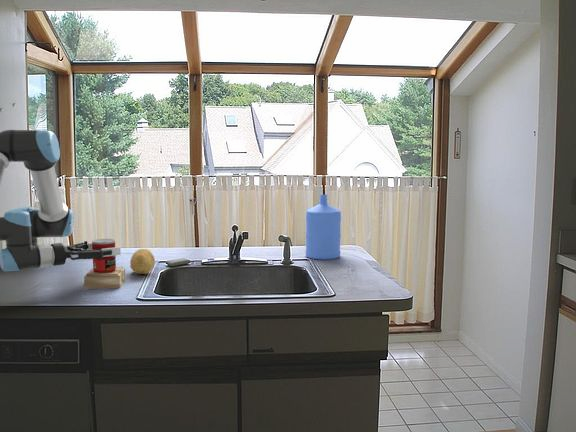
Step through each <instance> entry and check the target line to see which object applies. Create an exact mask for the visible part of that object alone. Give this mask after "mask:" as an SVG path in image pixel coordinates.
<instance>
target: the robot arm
mask: <svg viewBox="0 0 576 432" xmlns="http://www.w3.org/2000/svg"><path fill="white" fill-rule="evenodd" d="M59 143H60V142H59V140H58V137H57V135H56V134H55V133H54V132H53V131H51V130H44V129H34V130H33V129H6V130H3V131H0V185H1V184H2V181H3V179H2V178H3V176H4V172H5V169H7V168H8V167H9V164H10V163H12V162H15V163H18V162H19V163H23V165H24V167H25V168H26V169H27V170H29V171H30V174H31V178H32V183H33V185H34V189H35V193H36V196H37V201H38V204H39V208H38V209H37V208H36V207H35V206H25V207H19V208H18V207H17V208H14V209H9V210H8V211H6V212H5V213H4V215H3V216H0V241H1V242H2V241H3V242H4V241H5V246H6V247H5V248H1V249H0V268H1V270H2V271H3V272H15V271H17V272H19V271H24V270H32V269H39V268H41V269H42V270H43V269H44V270H45V267H46V268H47V267H52V266H54V267H56V266H62V265H65V264H66V262H67V259H70V260H72V261H76V260H77V261H78V260H93V259H100V260H102V259H103V257H107V256H115V255H116V256H121V252H122V251H121V247H120V246H115V247H114V248H106V249H101V250H92V242H88V241H87V240H84V241H83V242H79V243H75V244H69V245H64V244H63V243H62V242H57V243H51V244H49V243H45V244H39V243H38V238H63V237H65V238H66V237H70V236H71V235H72V233H73V226H74V210H73V209H72V208H68V206H67V204H65V203H64V202H63V198H62V196H61V192H60V186H59V182H58V178H57V173H56V169H55V166H56V165H57V162H58V161H59V159H60V157H61V156H60V155H61V150H60V144H59ZM98 253H99V255H98Z"/></svg>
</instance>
